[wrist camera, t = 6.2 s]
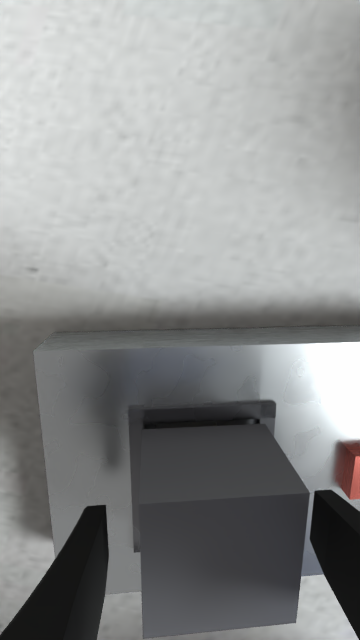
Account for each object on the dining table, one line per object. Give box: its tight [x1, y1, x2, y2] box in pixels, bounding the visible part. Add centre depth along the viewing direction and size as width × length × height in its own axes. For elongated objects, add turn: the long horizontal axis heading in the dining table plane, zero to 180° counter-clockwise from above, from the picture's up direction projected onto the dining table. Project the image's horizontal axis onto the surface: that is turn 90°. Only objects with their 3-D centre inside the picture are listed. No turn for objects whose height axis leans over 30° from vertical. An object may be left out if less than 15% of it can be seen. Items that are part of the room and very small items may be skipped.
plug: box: [139, 424, 310, 639], centre depth 12 cm, size 5×5×6 cm
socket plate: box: [33, 325, 360, 595], centre depth 14 cm, size 11×16×3 cm
